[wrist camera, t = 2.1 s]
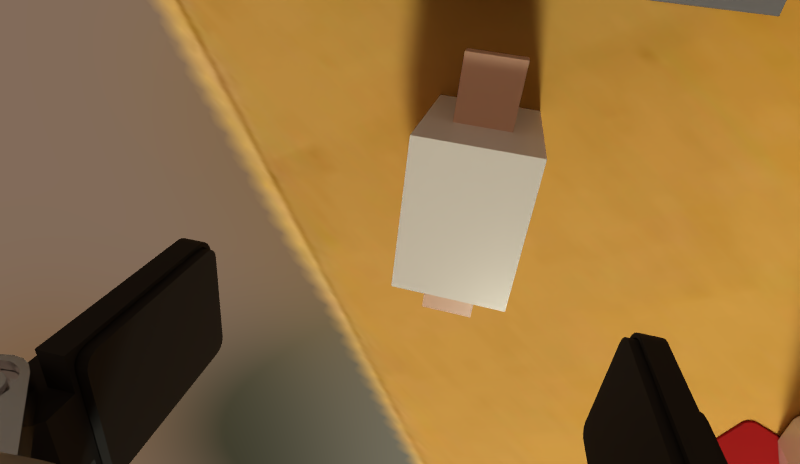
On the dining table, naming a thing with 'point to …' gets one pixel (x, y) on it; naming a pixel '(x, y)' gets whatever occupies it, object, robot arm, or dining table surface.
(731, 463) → the electronic device
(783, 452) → the white cup
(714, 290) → the dining table surface
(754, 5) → the block
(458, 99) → the block
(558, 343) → the dining table surface
